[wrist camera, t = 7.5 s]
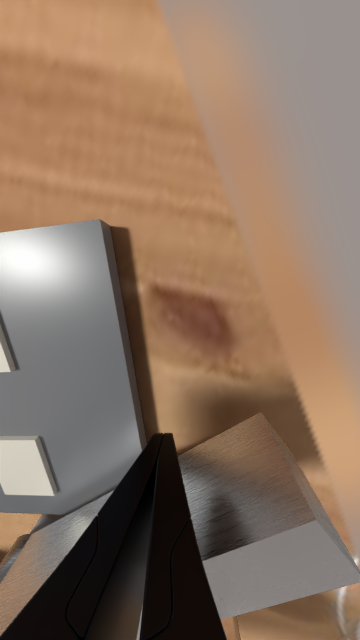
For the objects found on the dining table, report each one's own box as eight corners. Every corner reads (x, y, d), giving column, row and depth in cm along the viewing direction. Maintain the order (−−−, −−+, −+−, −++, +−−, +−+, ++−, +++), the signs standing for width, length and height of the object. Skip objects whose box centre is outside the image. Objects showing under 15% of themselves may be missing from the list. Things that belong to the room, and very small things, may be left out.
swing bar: (40, 570, 13) (-22, 688, 10) (6, 543, 13) (-75, 657, 9) (294, 455, 9) (369, 586, 5) (257, 407, 9) (310, 513, 5)
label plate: (161, 528, 14) (157, 561, 13) (-28, 520, 16) (-53, 548, 14) (110, 225, 9) (91, 213, 7) (-162, 261, 11) (-227, 258, 9)
